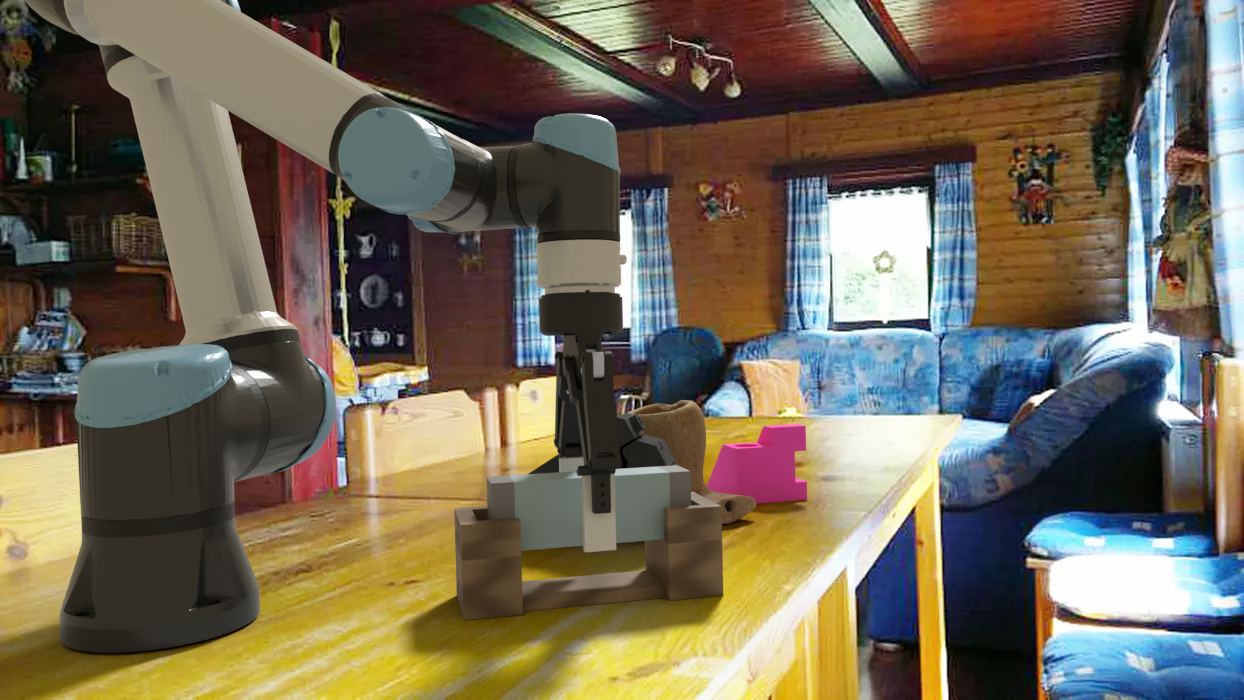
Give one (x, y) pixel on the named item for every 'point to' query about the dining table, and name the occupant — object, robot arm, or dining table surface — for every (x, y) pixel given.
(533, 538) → the rail
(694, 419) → the brown boot
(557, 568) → the dining table surface
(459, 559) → the posts
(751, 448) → the bracket
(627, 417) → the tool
